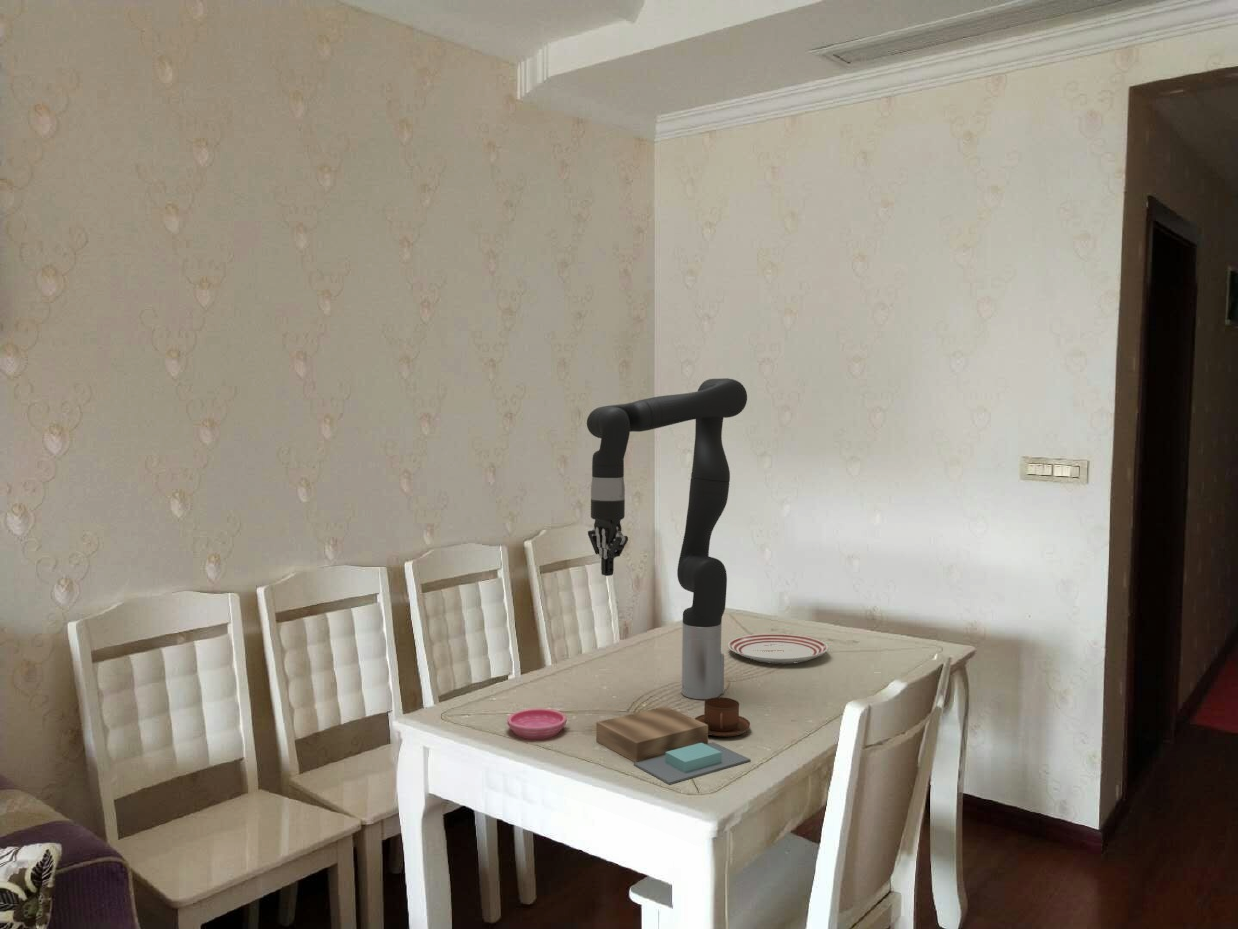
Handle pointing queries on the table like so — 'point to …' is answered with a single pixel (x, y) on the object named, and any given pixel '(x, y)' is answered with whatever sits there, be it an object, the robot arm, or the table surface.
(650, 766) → the mat
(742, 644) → the dinner plate
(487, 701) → the table surface
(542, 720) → the pink round bowl
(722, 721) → the cup and saucer
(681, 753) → the teal rectangular block
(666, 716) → the wooden block
